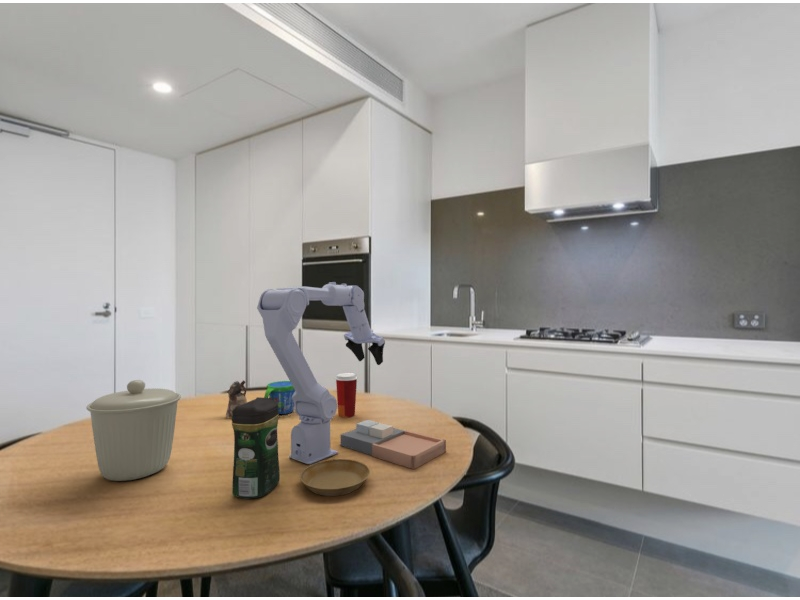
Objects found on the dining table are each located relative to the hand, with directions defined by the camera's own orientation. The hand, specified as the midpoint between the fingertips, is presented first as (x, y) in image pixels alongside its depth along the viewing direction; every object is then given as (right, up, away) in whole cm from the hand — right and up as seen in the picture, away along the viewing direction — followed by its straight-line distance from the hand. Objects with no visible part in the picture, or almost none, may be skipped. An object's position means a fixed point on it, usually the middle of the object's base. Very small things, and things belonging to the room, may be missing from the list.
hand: (370, 361), depth 123 cm
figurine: (-47, -21, +15) cm, 54 cm away
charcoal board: (+2, -20, -13) cm, 25 cm away
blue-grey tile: (0, -17, -12) cm, 21 cm away
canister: (-52, -21, -31) cm, 64 cm away
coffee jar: (-21, -21, -40) cm, 50 cm away
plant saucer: (-5, -21, -38) cm, 43 cm away
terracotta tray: (+11, -20, -21) cm, 32 cm away
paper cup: (-9, -21, +14) cm, 27 cm away
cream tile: (+4, -17, -15) cm, 24 cm away
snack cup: (-33, -21, +19) cm, 43 cm away
